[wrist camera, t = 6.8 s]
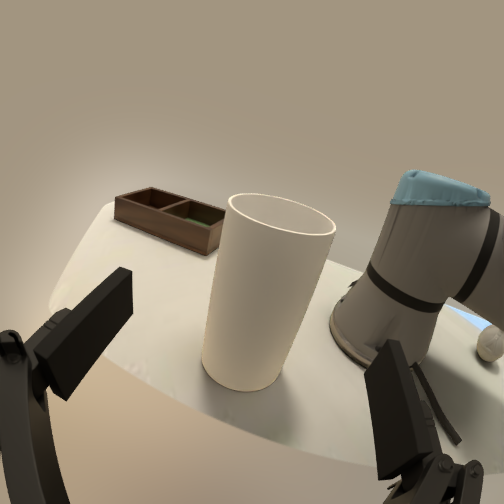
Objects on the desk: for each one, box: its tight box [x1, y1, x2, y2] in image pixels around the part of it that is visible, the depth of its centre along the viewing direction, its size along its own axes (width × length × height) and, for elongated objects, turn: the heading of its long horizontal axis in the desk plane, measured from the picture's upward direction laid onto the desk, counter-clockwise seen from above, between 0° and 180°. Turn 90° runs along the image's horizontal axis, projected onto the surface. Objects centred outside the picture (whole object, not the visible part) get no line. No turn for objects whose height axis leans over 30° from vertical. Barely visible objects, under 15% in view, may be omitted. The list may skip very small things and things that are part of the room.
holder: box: [114, 187, 226, 256], centre depth 52 cm, size 11×22×5 cm, turn 70°
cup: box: [202, 194, 336, 392], centre depth 24 cm, size 8×8×16 cm
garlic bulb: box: [477, 324, 504, 362], centre depth 31 cm, size 6×7×8 cm
